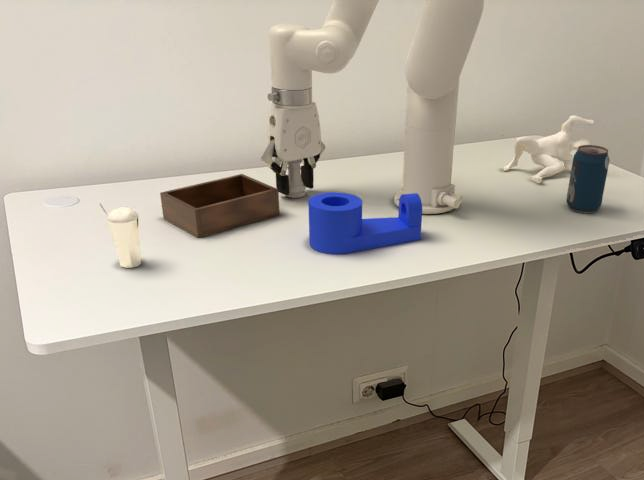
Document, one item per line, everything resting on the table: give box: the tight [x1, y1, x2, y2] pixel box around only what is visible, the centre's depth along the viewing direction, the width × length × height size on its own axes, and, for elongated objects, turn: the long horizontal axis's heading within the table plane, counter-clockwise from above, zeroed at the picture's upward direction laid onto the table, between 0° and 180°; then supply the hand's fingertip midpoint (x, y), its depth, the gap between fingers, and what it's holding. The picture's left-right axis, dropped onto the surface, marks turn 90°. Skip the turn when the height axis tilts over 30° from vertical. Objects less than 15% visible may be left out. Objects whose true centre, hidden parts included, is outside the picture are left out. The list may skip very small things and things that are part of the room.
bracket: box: [307, 191, 423, 255], centre depth 127 cm, size 20×9×8 cm, turn 111°
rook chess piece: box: [285, 159, 307, 199], centre depth 146 cm, size 4×4×8 cm
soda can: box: [565, 144, 610, 214], centre depth 145 cm, size 7×7×12 cm
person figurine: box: [503, 115, 595, 184], centre depth 165 cm, size 13×13×18 cm
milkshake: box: [99, 203, 142, 269], centre depth 114 cm, size 4×5×10 cm
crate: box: [159, 173, 281, 239], centre depth 135 cm, size 18×12×5 cm, turn 135°
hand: (295, 189), depth 147 cm, fingers open, 5 cm apart
